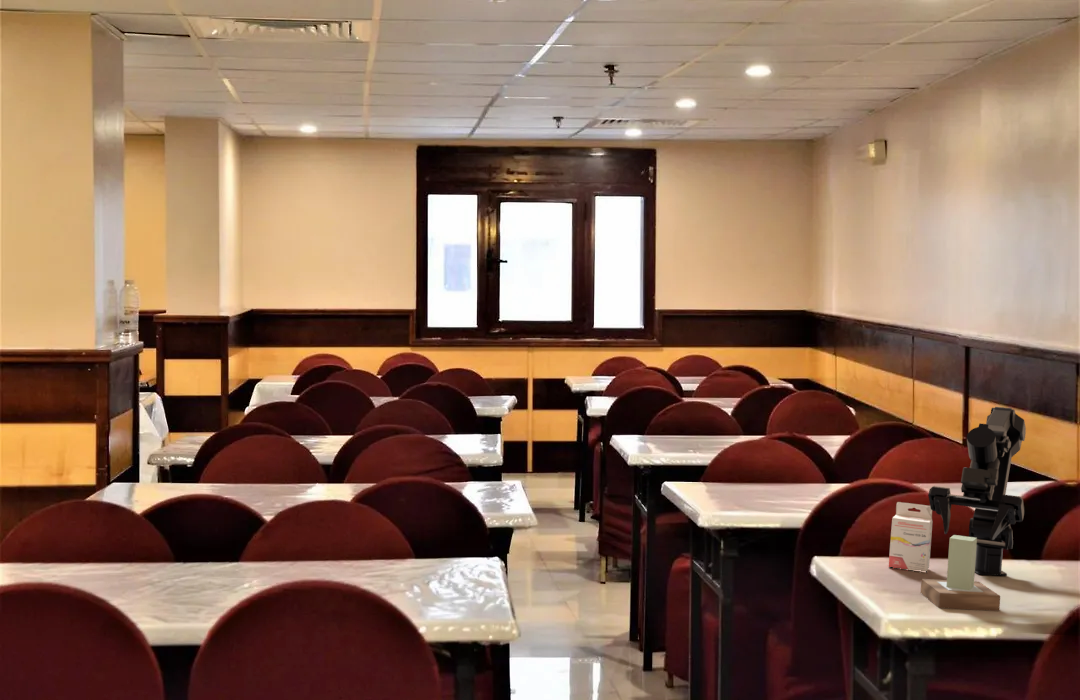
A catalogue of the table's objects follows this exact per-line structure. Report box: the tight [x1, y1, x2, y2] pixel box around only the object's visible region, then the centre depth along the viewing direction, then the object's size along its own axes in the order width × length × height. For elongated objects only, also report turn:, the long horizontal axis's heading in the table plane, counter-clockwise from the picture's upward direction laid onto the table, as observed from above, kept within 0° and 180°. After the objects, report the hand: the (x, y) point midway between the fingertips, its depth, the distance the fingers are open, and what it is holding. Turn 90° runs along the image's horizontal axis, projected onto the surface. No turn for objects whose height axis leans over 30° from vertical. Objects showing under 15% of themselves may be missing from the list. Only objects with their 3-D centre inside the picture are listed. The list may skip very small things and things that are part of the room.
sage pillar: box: [946, 534, 977, 590], centre depth 246 cm, size 4×4×10 cm
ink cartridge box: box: [888, 501, 934, 572], centre depth 276 cm, size 9×5×15 cm, turn 65°
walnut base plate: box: [920, 578, 1001, 612], centre depth 247 cm, size 12×12×3 cm
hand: (968, 536), depth 251 cm, fingers open, 9 cm apart
